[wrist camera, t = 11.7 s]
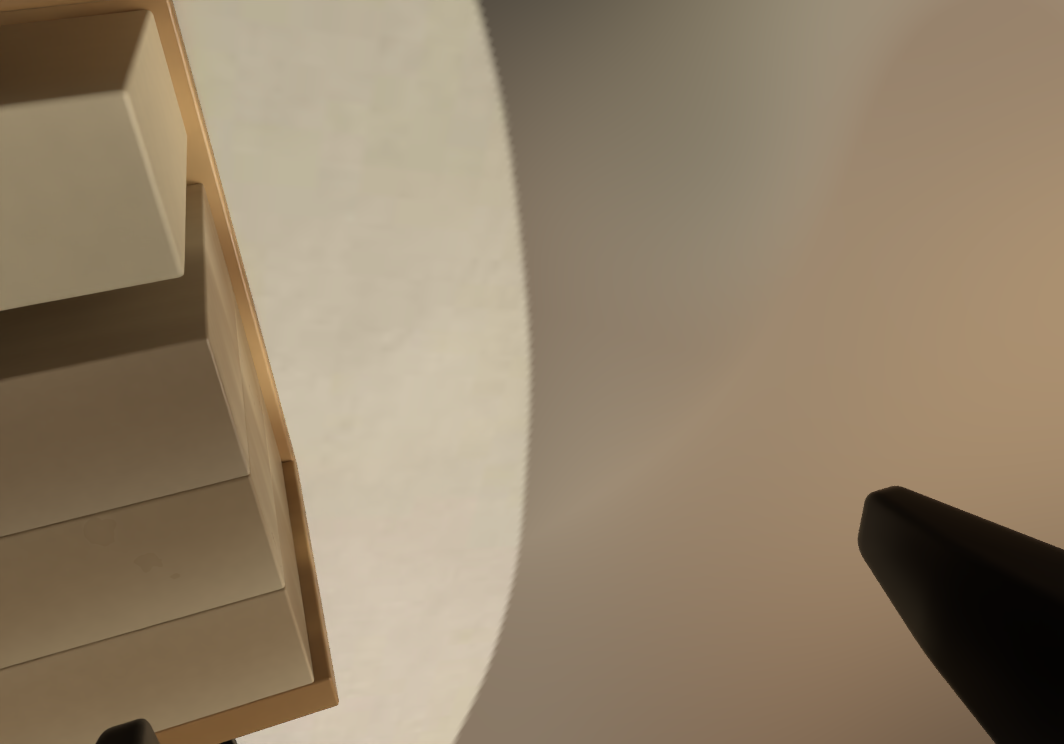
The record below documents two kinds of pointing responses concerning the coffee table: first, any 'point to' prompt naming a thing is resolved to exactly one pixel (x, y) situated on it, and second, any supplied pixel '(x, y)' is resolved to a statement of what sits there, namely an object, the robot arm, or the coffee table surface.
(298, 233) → the coffee table surface
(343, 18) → the coffee table surface
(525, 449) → the coffee table surface
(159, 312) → the brown rack
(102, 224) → the cream book
